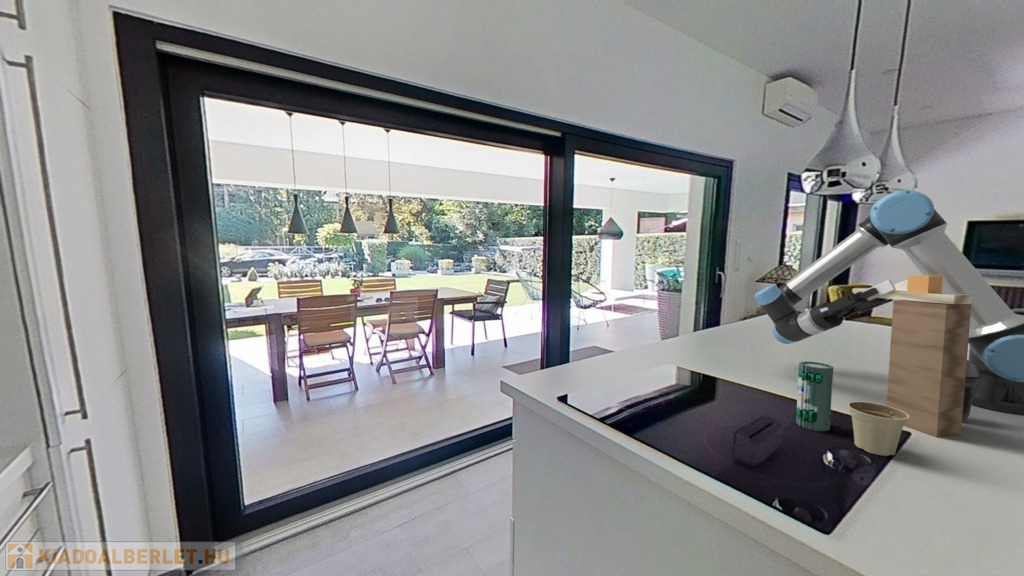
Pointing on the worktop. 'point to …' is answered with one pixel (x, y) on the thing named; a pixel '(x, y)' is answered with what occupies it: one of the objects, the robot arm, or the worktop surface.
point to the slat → (924, 296)
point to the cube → (924, 284)
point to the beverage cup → (969, 389)
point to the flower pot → (877, 427)
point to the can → (814, 396)
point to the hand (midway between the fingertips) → (901, 284)
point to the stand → (929, 364)
